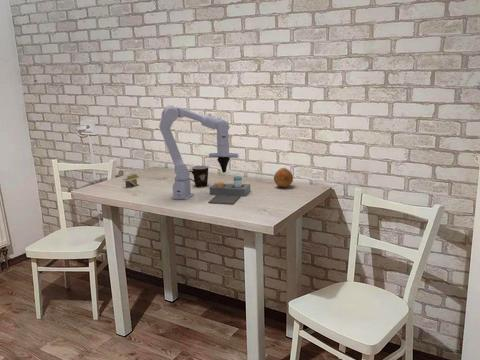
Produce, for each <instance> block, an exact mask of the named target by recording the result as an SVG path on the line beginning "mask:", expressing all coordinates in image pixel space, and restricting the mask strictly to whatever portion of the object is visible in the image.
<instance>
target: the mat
mask: <svg viewBox="0 0 480 360" xmlns="http://www.w3.org/2000/svg"><path fill="white" fill-rule="evenodd" d="M240 198H241V196H226V195H214V197H212V198H211V199H210V200H209V201H207V203H208V204H214V205H216V204H218V205H232V206H233V205H234V204H235V203H237V201H238V200H239V199H240Z"/></svg>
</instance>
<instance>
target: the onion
mask: <svg viewBox="0 0 480 360" xmlns="http://www.w3.org/2000/svg"><path fill="white" fill-rule="evenodd" d="M293 175H294V174H292V171H290V169H288V168H286V167H281V168H279V169H278V170H276V172H275V173H274V175H273V181H274V183H275V184H276V186H278V187H280V188H282V189H283V188H288V187H289V186H291V185H292V183H293V181H294V176H293Z"/></svg>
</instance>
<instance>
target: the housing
mask: <svg viewBox="0 0 480 360" xmlns="http://www.w3.org/2000/svg"><path fill="white" fill-rule="evenodd" d="M217 183H218V182H215V183H213V184H212V185H211V186H209V195H214V196H216V195H226V196H240V197H246V196H247V195H248V194H249V193H250V192H251V184H250V183H242V188H234V183H224V187H217Z"/></svg>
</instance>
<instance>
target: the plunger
mask: <svg viewBox="0 0 480 360" xmlns="http://www.w3.org/2000/svg"><path fill="white" fill-rule="evenodd" d="M216 183H217V187H224V184H225V183H224V182H216Z"/></svg>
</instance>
